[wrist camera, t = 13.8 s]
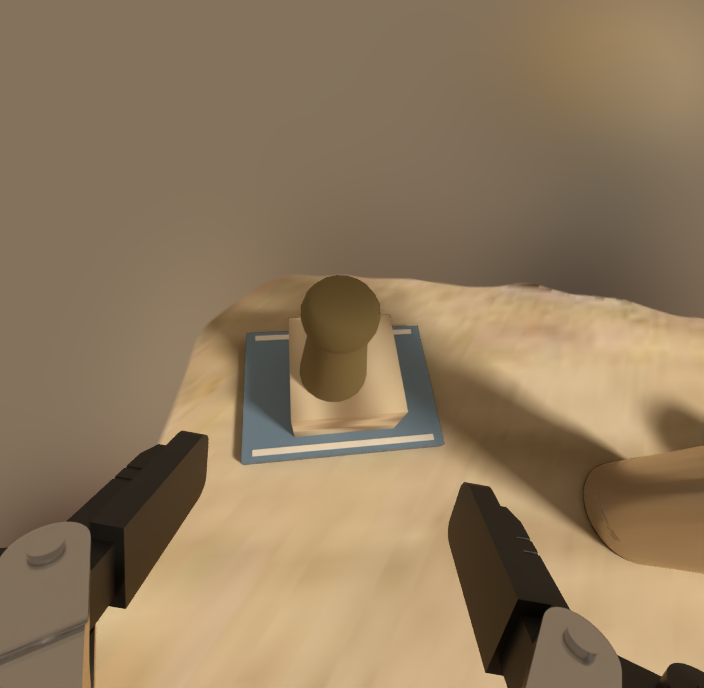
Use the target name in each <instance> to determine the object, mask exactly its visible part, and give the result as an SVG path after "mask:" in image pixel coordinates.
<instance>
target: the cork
mask: <svg viewBox="0 0 704 688" xmlns="http://www.w3.org/2000/svg"><path fill="white" fill-rule="evenodd" d="M380 319H381V318H380V306H379V302H378V300H377V298H376V295H375V294H374V293H373V291H372V290H371V289H370V288H369V287H368V286H367V285H366V284H365V283H363V282H361V281H360V280H358V279H356V278H353V277H349V276H339V275H336V276H331V277H327V278H325V279H323V280H321V281H319V282H317V283H316V284H314V285H313V286H312V287H311V288H310V289H309V290H308V291H307V293H306V296H305V298H304V300H303V302H302V305H301V322H302V325H303V328H304V331H305V333H306V335H307V338H306V342H305V346H304V350H303V354H302V359H301V363H300V377H301V380H302V384H303V385H304V387H305V388H306V389H307V391H308V392H309V393H310V394H312V395H313V396H315V397H316V398H317V399H320V400H323V401H327V402H340V401H344V400H347V399H350V398H351V397H352V396H354V395H355V394H357V393H358V392H359V390H360V389H361V388H362V386H363V385H364V382H365V379H366V375H367V344H368V343H369V342H370V340H371V339H372V338H373V336H374V335H375V334H376V332H377V329H378V326H379V322H380Z"/></svg>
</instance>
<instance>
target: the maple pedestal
mask: <svg viewBox="0 0 704 688" xmlns="http://www.w3.org/2000/svg"><path fill="white" fill-rule="evenodd" d="M380 318H381V319H380V322H379V326H378V329H377V332H376V334H375V335H374V336H373V338H372V339H371V340H370V342H369V343H368V344H367V375H366V379H365V382H364V385H363V386H362V388H361V389H360V390H359V392H358V393H357V394H355V395H354V396H352V397H351V398H350V399H347V400H344V401H340V402H327V401H323V400H320V399H317V398H316V397H315V396H313V395H312V394H310V393H309V392H308V391H307V389H306V388H305V387H304V385H303V384H302V380H301V377H300V363H301V359H302V354H303V350H304V346H305V342H306V338H307V335H306V333H305V331H304V328H303V325H302V322H301V318H288V319H289V360H290V402H291V423H292V428H293V432H294V436H295V437H300V436H311V435H323V434H334V433H346V432H358V431H369V430H381V429H393V428H394V427H395V426H396V425H397V424H398V423H399V422H400V421H401V419H402V418H403V417H404V416H405V415H406V414H407V413H408V409H407V403H406V398H405V393H404V387H403V382H402V377H401V371H400V366H399V361H398V355H397V350H396V345H395V339H394V334H393V328H392V323H391V318H390V314H385V315H380Z"/></svg>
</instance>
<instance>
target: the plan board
mask: <svg viewBox="0 0 704 688" xmlns="http://www.w3.org/2000/svg"><path fill="white" fill-rule="evenodd" d="M392 328H393V334H394V339H395V345H396V350H397V355H398V361H399V366H400V371H401V377H402V382H403V387H404V393H405V398H406V403H407V409H408V413H407V414H406V415H405V416H404V417H403V418H402V419H401V421H400V422H399V423H398V424H397V425H396V426H395V427H394V428H393V429H381V430H369V431H358V432H346V433H334V434H323V435H311V436H300V437H295V436H294V432H293V428H292V423H291V402H290V360H289V331H279V332H255V333H247V334H246V358H245V382H244V406H243V430H242V454H241V463H242V464H243V465H249V464H259V463H270V462H280V461H291V460H301V459H312V458H322V457H333V456H343V455H354V454H364V453H375V452H385V451H396V450H406V449H417V448H427V447H438V446H442V445H443V444H444V440H443V436H442V431H441V427H440V422H439V418H438V414H437V409H436V405H435V400H434V396H433V392H432V387H431V383H430V378H429V374H428V370H427V365H426V361H425V356H424V352H423V348H422V343H421V339H420V334H419V330H418V326H398V327H392Z"/></svg>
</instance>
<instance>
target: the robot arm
mask: <svg viewBox="0 0 704 688" xmlns="http://www.w3.org/2000/svg"><path fill="white" fill-rule="evenodd" d="M207 457H208V436H207V435H204V434H198V433H193V432H187V431H180V432H179V433H178V434H177V435H176V436H175V437H174V438H173V439H172V440H171V441H170V442H169V443H168V444H167V445H160V444H158V445H156V446H154V447H152V448H150V449H148V450H146V451H144V452H142V453H140V454H139V455H138V456H137V457H136V458H135V459H134V460H133V461H131V462H130V463H129V464H128V465H127V467H126V468H124V469H123V470H122V471H121V472H120V473H119V474H117V475H116V477H115V479H112V480H111V481H110V482H109V483H108V484H106V485H105V486H104V487H103V488H102V489H101V490H100V491H99V492H98V493H97V494H96V495H95V496H94V497H92V498H91V499H90V500H89V501H88V502H87V503H86V504H85V505H84V506H83V507H81V509H79V511H77V512H76V513H75V514H74V515H73V516H72V517H71V518H70V519H69V520H67V521H66V522H58V523H53V524H49V525H46V526H43V527H40V528H38V529H35V530H33V531H31V532H29V533H27V534H26V535H24V536H22V537H20V538H19V539H18V540H17V541H15V542H14V543H12V545H10V546H9V547H7V548H0V688H95V667H96V622H97V621H98V620H99V618H100V617H101V615H102V614H103V613H104V611H105V610H106V608H107V607H108V606H112V607H118V608H124V609H126V608H127V606H128V605H129V603H130V602H131V600H132V599H133V597H134V596H135V594H136V593H137V591H138V590H139V588H140V587H141V585H142V584H143V582H144V580H145V579H146V577H147V576H148V574H149V573H150V571H151V570H152V568H153V567H154V565H155V564H156V562H157V561H158V559H159V558H160V556H161V555H162V553H163V552H164V550H165V549H166V547H167V546H168V544H169V543H170V541H171V540H172V538H173V537H174V535H175V534H176V532H177V531H178V529H179V527H180V526H181V524H182V523H183V521H184V520H185V518H186V517H187V515H188V514H189V512H190V511H191V509H192V508H193V506H194V505H195V503H196V502H197V500H198V499H199V497H200V495H201V493H202V490H203V488H204V485H205V481H206V472H207ZM584 503H585V508H586V511H587V515H588V517H589V520H590V522H591V524H592V526H593V528H594V529H595V531H596V532H597V534H598V535H599V537H600V538H601V539H602V540H603V541H604V543H605V544H606V545H607V546H608V547H609V548H610V549H612V550H613V551H614V552H615V553H616V554H618V555H619V556H621V557H623V558H624V559H626V560H628V561H631V562H634V563H637V564H642V565H649V566H656V567H663V568H670V569H677V570H682V571H689V572H696V573H703V574H704V445H702V446H697V447H692V448H686V449H681V450H676V451H670V452H665V453H660V454H654V455H649V456H643V457H637V458H632V459H626V460H621V461H616V462H611V463H605V464H602V465H600V466H597V467H596V468H595V469H593V470H592V471H591V472H590V474H589V475H588V477H587V479H586V482H585V485H584ZM448 540H449V545H450V548H451V552H452V555H453V559H454V563H455V566H456V570H457V573H458V577H459V580H460V584H461V587H462V591H463V595H464V598H465V602H466V605H467V609H468V612H469V616H470V620H471V623H472V627H473V630H474V634H475V637H476V641H477V644H478V648H479V652H480V655H481V659H482V662H483V666H484V669H485V673H490V674H496V675H502V676H504V678H505V681H506V684H507V687H508V688H704V672H702V671H700V670H698V669H696V668H694V667H692V666H689V665H686V664H682V663H673V664H671V665H670V666H669V667H668V668H667V670H666V671H665V673H664V674H663V676H662V677H661V676H659V675H657V674H655V673H653V672H651V671H649V670H647V669H645V668H643V667H641V666H639V665H636V664H634V663H632V662H630V661H628V660H626V659H624V658H622V657H620V656H618V655H617V654H616V652H615V650H614V649H613V647H612V645H611V644H610V643H609V641H608V640H607V639H606V637H605V636H604V635H603V634H602V633H601V632H600V631H599V630H598V629H597V628H596V627H595V626H594V625H593V624H592V623H590V622H589V621H588V620H587V619H585V618H584V617H582V616H581V615H579V614H577V613H575V612H573V611H571V610H570V609H569V607H568V605H567V603H566V602H565V600H564V598H563V596H562V594H561V593H560V591H559V589H558V587H557V586H556V584H555V582H554V580H553V578H552V577H551V575H550V573H549V571H548V570H547V568H546V566H545V564H544V562H543V561H542V559H541V557H540V556H538V552H537V550H536V548H535V546H534V545H533V543H532V542H531V541H530V538H529V536H528V534H527V532H526V530H525V529H524V527H523V525H522V523H521V522H520V521H519V520H518V519H517V518H516V517H515V516H514V515H513V514H512V513H511V511H510V510H509V509H508V508H507V507H502V506H500V504H499V502H498V500H497V498H496V496H495V495H494V493H493V491H492V489H491V488H490V487H489V486H483V485H478V484H472V483H467V482H464V483H463V484H462V485H461V487H460V490H459V493H458V496H457V499H456V502H455V505H454V508H453V511H452V515H451V518H450V521H449V526H448Z"/></svg>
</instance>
